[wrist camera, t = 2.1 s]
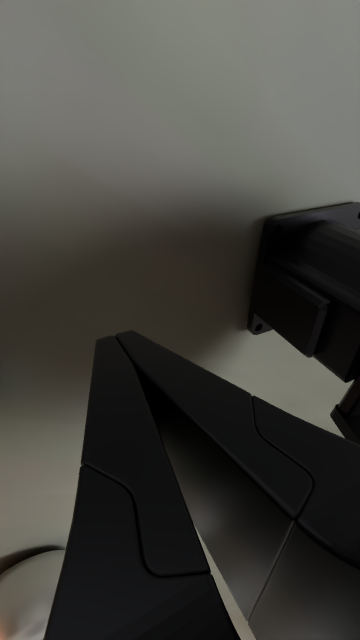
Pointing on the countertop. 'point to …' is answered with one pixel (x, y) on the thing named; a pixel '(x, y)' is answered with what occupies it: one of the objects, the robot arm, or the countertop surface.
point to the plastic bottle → (29, 596)
